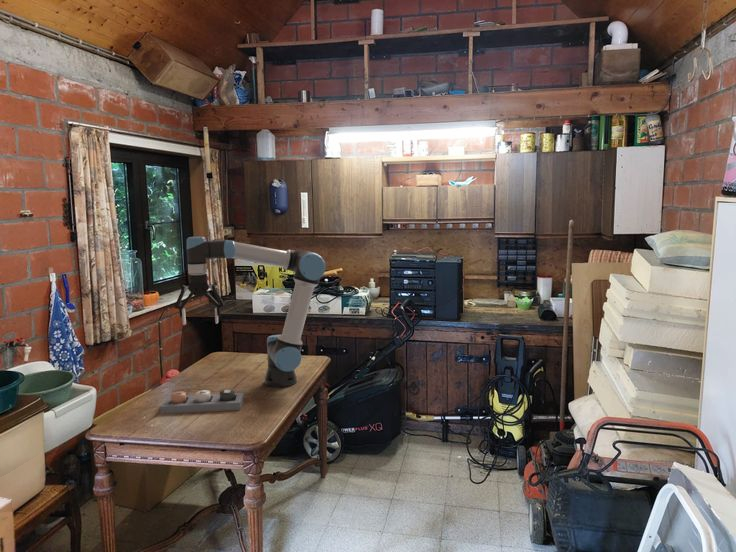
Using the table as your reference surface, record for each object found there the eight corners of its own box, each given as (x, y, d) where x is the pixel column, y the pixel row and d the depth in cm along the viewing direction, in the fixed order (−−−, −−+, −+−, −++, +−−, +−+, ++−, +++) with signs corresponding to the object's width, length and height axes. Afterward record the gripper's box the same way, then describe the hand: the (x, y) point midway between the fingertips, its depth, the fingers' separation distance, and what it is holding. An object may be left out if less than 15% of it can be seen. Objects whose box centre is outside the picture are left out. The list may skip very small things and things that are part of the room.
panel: (243, 399, 234) (243, 392, 233) (240, 409, 222) (240, 402, 222) (168, 403, 230) (167, 396, 230) (160, 413, 218) (160, 406, 218)
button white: (211, 397, 229) (211, 389, 229) (209, 402, 223) (208, 394, 223) (197, 398, 228) (197, 390, 228) (194, 403, 223) (194, 395, 222)
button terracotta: (187, 398, 228) (187, 390, 227) (184, 404, 222) (184, 395, 222) (173, 399, 227) (172, 391, 227) (169, 404, 221) (169, 396, 221)
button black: (235, 396, 230) (235, 388, 230) (233, 401, 224) (233, 393, 224) (221, 397, 230) (221, 389, 229) (219, 402, 224) (218, 394, 223)
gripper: (229, 271, 229) (232, 320, 232) (169, 273, 226) (172, 322, 229) (226, 274, 221) (229, 324, 224) (164, 275, 219) (168, 326, 222)
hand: (200, 323), depth 227 cm, fingers open, 13 cm apart
